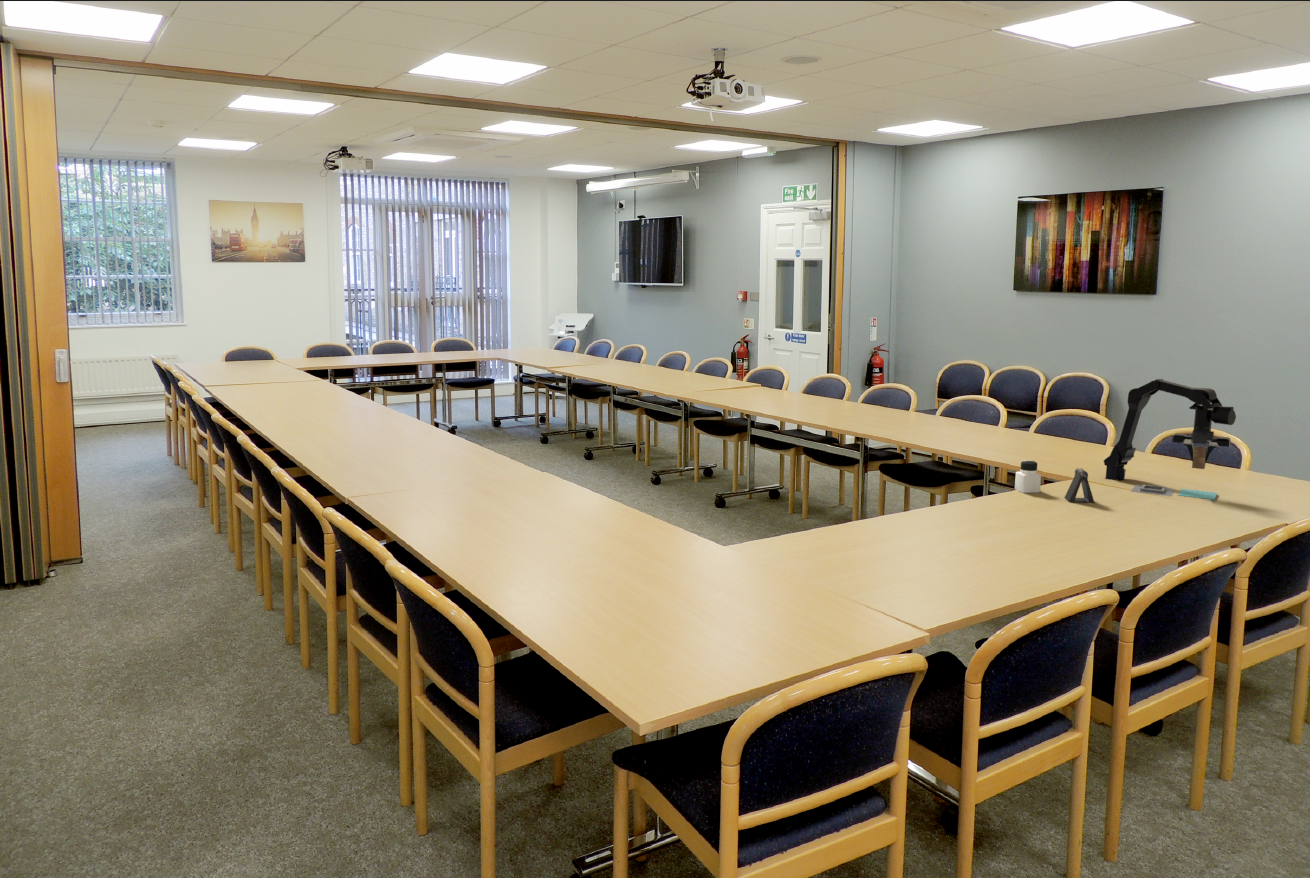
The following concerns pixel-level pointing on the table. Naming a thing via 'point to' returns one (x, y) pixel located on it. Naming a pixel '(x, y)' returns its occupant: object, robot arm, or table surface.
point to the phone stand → (1075, 486)
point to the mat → (1198, 494)
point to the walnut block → (1199, 457)
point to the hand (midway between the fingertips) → (1199, 462)
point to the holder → (1153, 490)
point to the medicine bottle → (1028, 478)
